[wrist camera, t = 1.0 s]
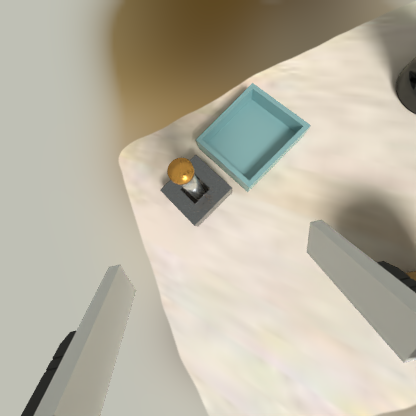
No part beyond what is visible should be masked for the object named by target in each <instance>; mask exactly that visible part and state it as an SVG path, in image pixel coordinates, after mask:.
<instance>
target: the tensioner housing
mask: <svg viewBox="0 0 416 416" xmlns="http://www.w3.org/2000/svg"><path fill="white" fill-rule="evenodd" d="M190 162H191V163H192V165H193V167H194V170H195V173H194V175H195V176H196V178H197V179H198V180H199V181H200V182H201V183H202V184H203V185H204V186H206V187H207V188H208V189H209V190H208V191H207V192H206V193H205V194H204V195H203V196H202V197H201V198H200V199H199V200H198V201H197V202H196V203H194V202H193V201H192V200H191V199H190V198H189V197H188V196H187V195H186V194H185V193H186V192H187V190H186V189H185V188H184V187H183V186H182V185H178V184H175V183H174V182H173V181H172V180H170V181H169V182H168V183H167V184H166V185H165V186H164V187H163V188H162V189H161V191H162V192H163V193H164V194H165V195H166V197H167V198H168V199H169V200H170V201H171V202H172V203H173V204H174V205H175V206H176V207H177V208H178V209H179V210H180V211H181V212H182V213H183V214H184V215H185V216H186V217H187V218H188V219H189V220H190V221H191V223H192V224H193V225H194V226H199V225H200V224H201V223H202V222H203V221H204V220H205V219H206V218H207V217H208V216H209V215H210V214H211V213H212V212H213V211H214V210H215V209H216V208H217V207H218V206H219V205H220V204H221V203H222V202H223V201H224V200H225V199H226V198H227V197H228V196H229V195H230V194H231V193H232V187H230V186H229V185H228V184H227V183H226V182H225V181H224V180H223V179H222V178H221V177H220V176H218V175H217V174H216V173H215V172H214V171H213V170H212V169H211V168H210V167H209V166H208V165H206V164H205V163H204V162H203V161H202V160H201V159H200V158H199V157H198V156H197V155H195V156H194V157H193V158H192V159H191V160H190Z"/></svg>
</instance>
